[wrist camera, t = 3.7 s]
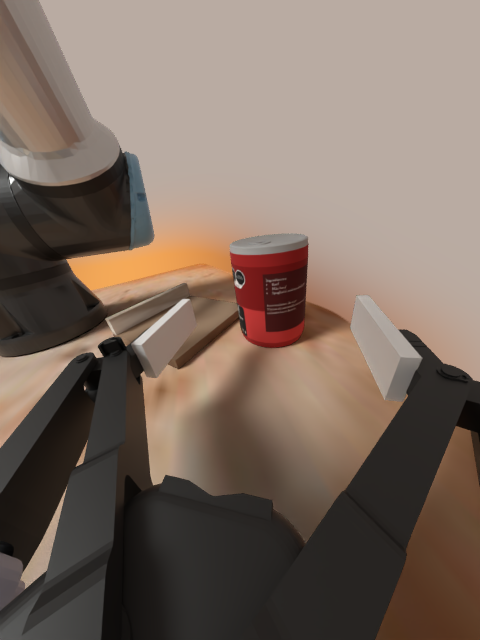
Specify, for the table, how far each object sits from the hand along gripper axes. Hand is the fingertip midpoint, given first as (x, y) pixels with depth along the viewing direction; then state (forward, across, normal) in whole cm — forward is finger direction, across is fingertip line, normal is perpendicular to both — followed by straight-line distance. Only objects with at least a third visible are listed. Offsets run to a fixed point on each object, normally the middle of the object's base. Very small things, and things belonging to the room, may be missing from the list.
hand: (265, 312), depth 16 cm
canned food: (+7, 0, -7) cm, 10 cm away
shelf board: (+8, -13, -6) cm, 17 cm away
